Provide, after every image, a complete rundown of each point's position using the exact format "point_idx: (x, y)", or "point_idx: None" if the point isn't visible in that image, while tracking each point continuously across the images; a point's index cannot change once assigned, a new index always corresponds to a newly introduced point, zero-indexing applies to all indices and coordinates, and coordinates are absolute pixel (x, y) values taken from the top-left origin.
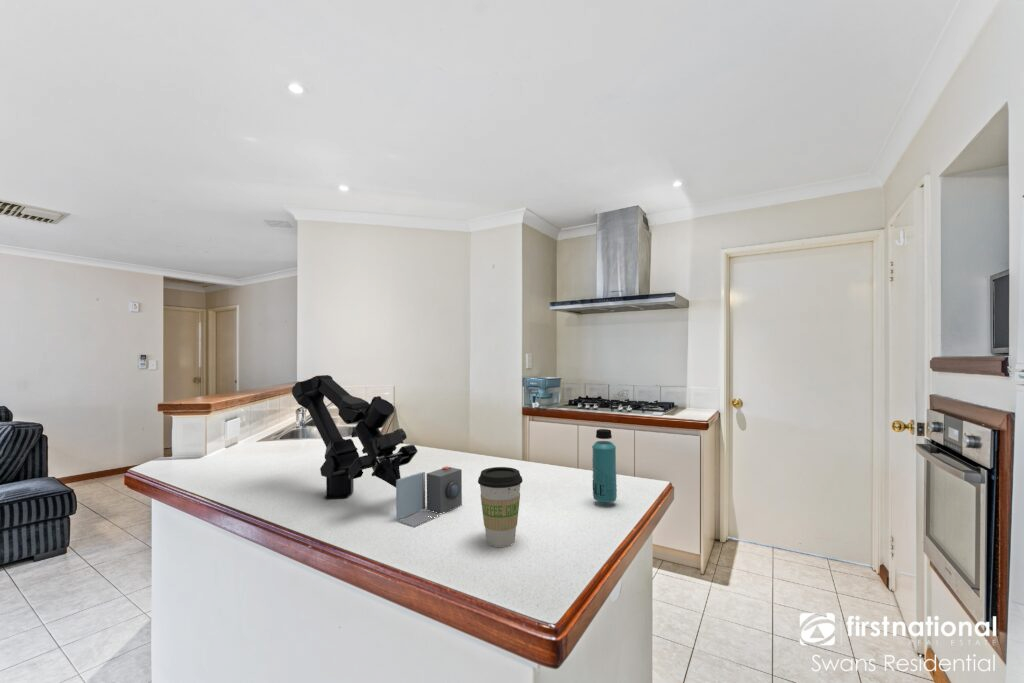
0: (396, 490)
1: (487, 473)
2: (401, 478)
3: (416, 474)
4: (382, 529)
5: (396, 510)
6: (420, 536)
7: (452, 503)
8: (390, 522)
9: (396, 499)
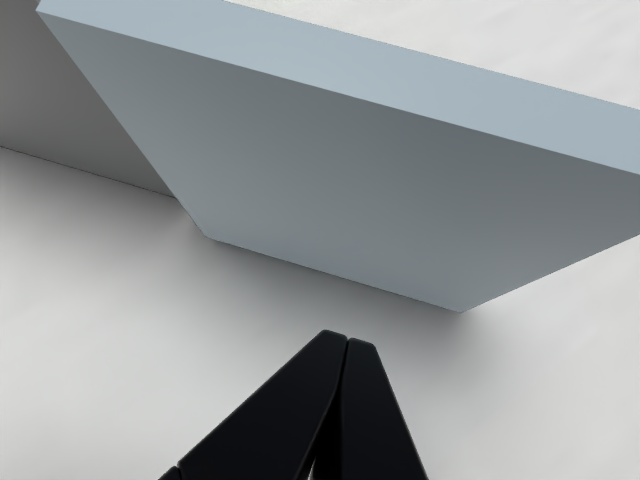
0: (591, 250)
1: None
2: (579, 148)
3: (214, 7)
4: (631, 322)
5: (483, 301)
6: (598, 35)
7: None
8: (498, 343)
9: (529, 279)
